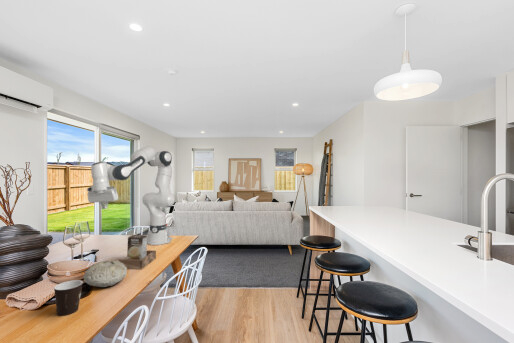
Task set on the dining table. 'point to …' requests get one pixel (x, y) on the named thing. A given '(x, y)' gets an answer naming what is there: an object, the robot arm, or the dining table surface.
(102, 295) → the dining table surface
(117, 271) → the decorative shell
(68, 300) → the coffee mug
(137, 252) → the coffee box
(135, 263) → the brown wooden tray
